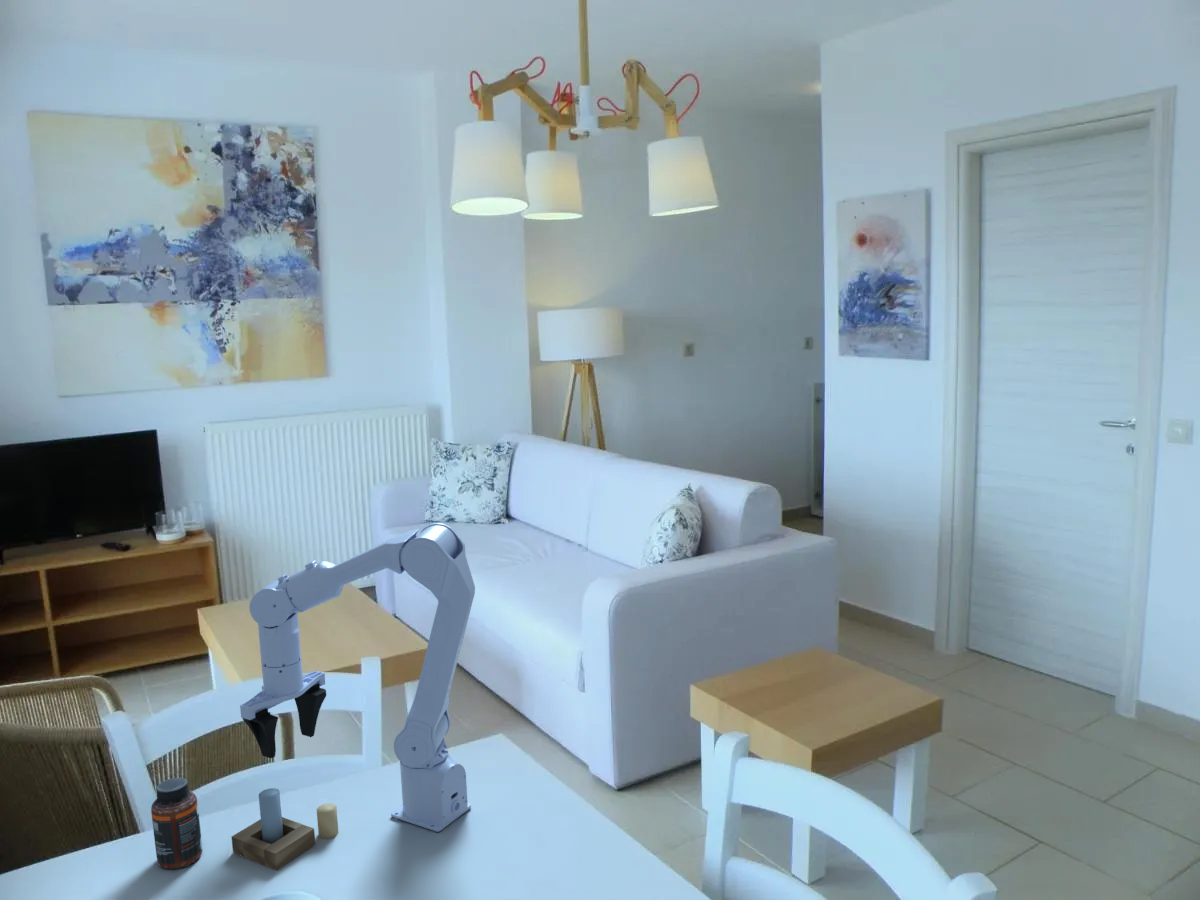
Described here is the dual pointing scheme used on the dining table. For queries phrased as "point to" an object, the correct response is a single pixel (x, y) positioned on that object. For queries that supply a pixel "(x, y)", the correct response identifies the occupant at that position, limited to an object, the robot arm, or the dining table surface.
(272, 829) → the long dowel
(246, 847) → the block with square hole
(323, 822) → the short dowel
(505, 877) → the dining table surface
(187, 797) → the supplement bottle
